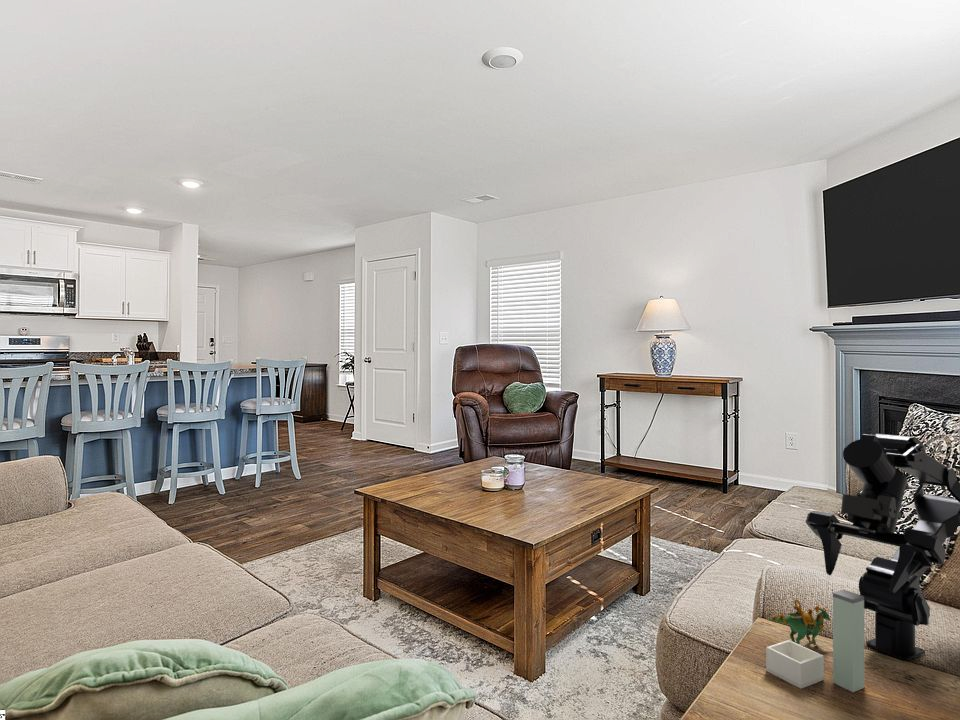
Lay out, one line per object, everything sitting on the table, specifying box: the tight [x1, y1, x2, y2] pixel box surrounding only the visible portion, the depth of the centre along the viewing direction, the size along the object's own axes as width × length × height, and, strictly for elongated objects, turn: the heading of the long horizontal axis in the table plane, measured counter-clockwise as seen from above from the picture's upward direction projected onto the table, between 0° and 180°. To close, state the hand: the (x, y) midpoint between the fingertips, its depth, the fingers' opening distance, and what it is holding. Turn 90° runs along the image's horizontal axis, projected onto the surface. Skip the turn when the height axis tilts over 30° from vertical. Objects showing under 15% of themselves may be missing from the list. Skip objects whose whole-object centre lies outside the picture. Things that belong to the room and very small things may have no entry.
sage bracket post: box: [832, 589, 865, 693], centre depth 87 cm, size 3×3×14 cm
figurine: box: [767, 598, 831, 647], centre depth 99 cm, size 3×12×8 cm, turn 96°
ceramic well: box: [765, 639, 825, 689], centre depth 89 cm, size 6×6×4 cm
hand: (858, 582), depth 90 cm, fingers open, 9 cm apart
